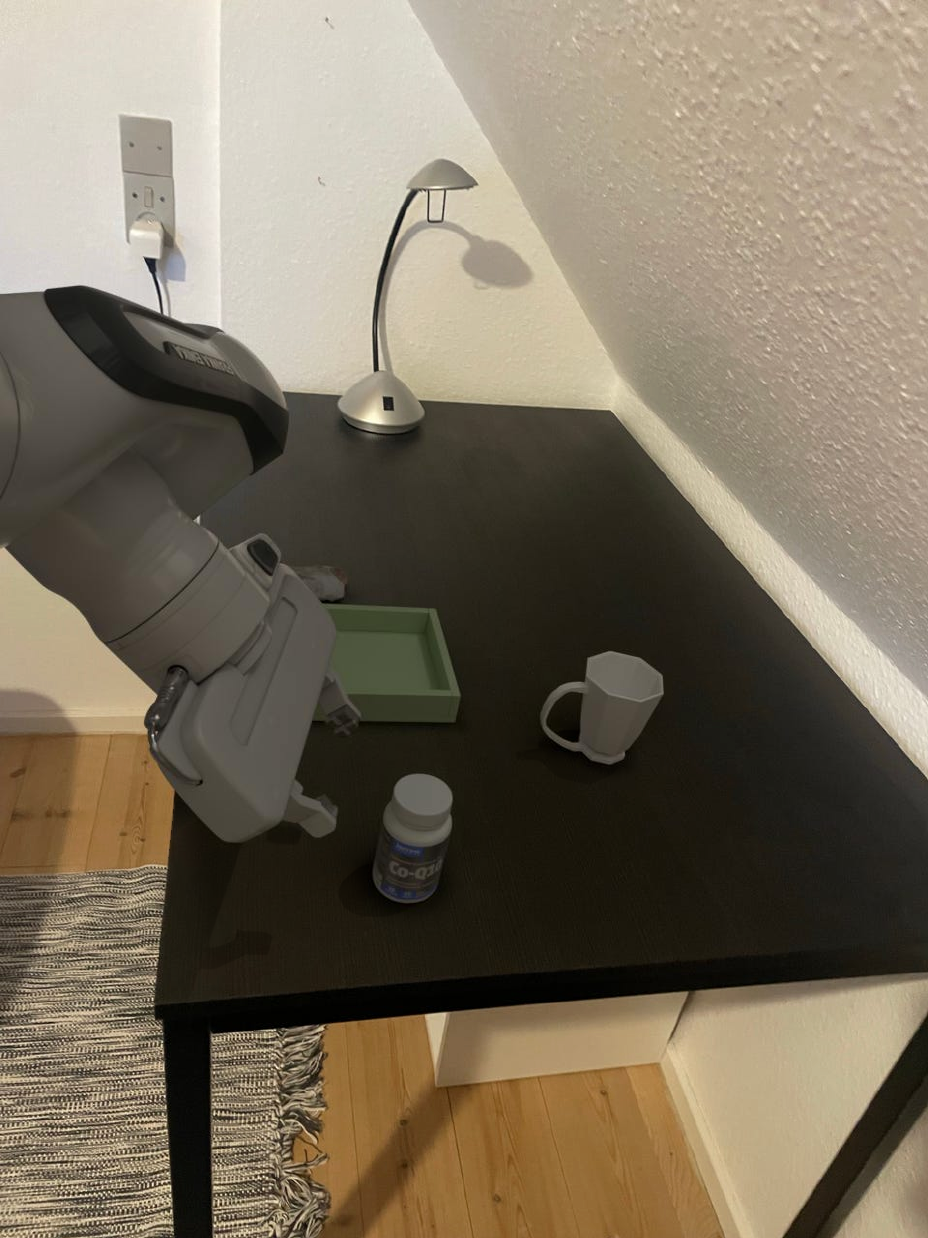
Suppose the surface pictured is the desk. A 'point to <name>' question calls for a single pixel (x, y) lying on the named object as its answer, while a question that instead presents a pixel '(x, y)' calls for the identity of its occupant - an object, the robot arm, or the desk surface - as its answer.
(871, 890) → the desk surface
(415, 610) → the sage tray
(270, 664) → the robot arm
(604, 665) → the cup
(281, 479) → the desk surface
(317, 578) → the stone
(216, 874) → the desk surface
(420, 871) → the pill bottle
